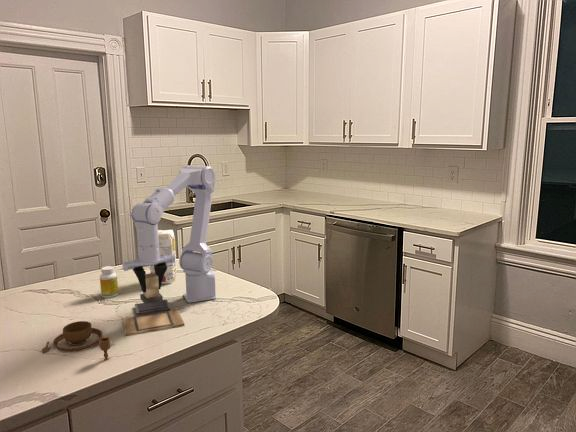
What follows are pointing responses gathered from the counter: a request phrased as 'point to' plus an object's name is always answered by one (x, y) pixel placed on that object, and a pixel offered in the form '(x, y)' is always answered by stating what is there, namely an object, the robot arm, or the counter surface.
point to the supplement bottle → (108, 282)
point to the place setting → (80, 338)
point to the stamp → (151, 289)
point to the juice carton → (167, 248)
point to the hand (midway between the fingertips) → (151, 289)
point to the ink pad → (152, 307)
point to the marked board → (152, 322)
